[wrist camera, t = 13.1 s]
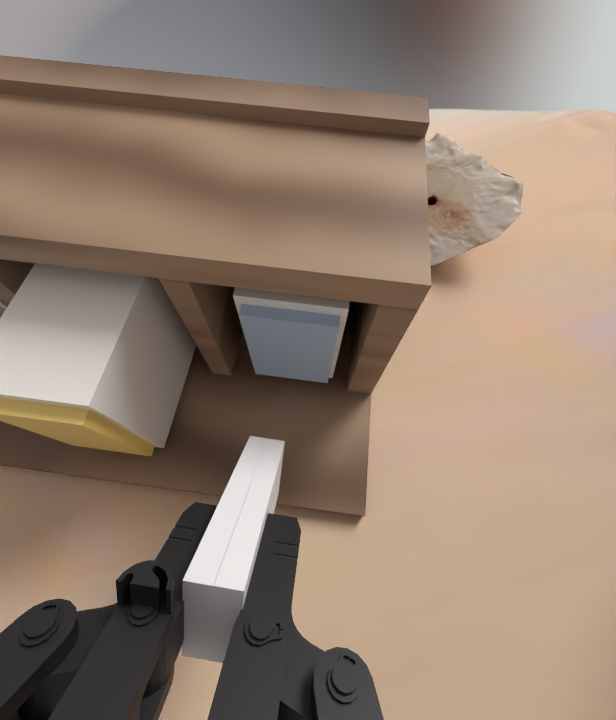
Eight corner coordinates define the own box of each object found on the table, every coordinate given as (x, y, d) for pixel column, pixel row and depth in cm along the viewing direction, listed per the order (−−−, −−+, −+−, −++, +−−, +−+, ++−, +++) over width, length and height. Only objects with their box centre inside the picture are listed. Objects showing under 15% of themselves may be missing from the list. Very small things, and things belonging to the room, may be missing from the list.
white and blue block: (331, 387, 21) (347, 321, 14) (251, 376, 21) (229, 306, 14) (341, 289, 24) (358, 197, 17) (273, 281, 24) (263, 186, 17)
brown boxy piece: (363, 516, 18) (451, 507, 8) (-120, 447, 19) (-628, 356, 9) (375, 270, 26) (428, 97, 15) (29, 230, 27) (-144, 41, 16)
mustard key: (160, 458, 18) (81, 422, 12) (73, 446, 19) (-55, 404, 12) (198, 340, 22) (152, 258, 15) (123, 331, 22) (46, 246, 15)
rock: (371, 293, 30) (527, 264, 25) (359, 277, 27) (534, 241, 22) (367, 186, 33) (507, 139, 28) (355, 160, 30) (511, 102, 25)
